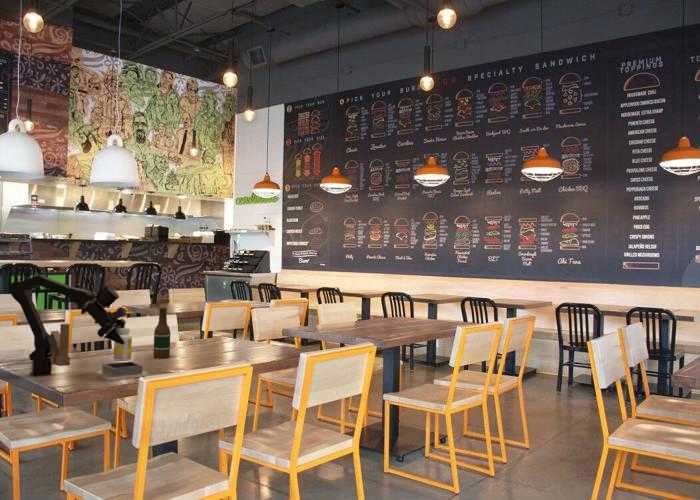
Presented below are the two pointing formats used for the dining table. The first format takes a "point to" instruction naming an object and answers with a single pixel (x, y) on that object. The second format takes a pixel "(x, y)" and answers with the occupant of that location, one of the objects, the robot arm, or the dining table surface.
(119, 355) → the supplement bottle
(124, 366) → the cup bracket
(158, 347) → the beer bottle
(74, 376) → the dining table surface
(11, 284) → the robot arm
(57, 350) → the wooden block
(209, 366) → the dining table surface
